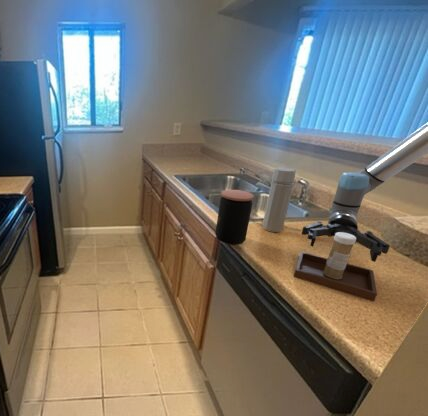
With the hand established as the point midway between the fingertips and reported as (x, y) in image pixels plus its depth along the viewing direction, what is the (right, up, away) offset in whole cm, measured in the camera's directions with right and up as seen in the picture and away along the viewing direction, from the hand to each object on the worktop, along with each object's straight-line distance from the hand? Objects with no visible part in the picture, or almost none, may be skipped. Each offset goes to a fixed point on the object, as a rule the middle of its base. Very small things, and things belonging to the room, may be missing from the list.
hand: (342, 249), depth 78 cm
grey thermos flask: (0, +3, +33) cm, 33 cm away
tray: (0, -9, +3) cm, 9 cm away
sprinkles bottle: (0, -9, +3) cm, 9 cm away
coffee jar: (-19, 0, +27) cm, 33 cm away
